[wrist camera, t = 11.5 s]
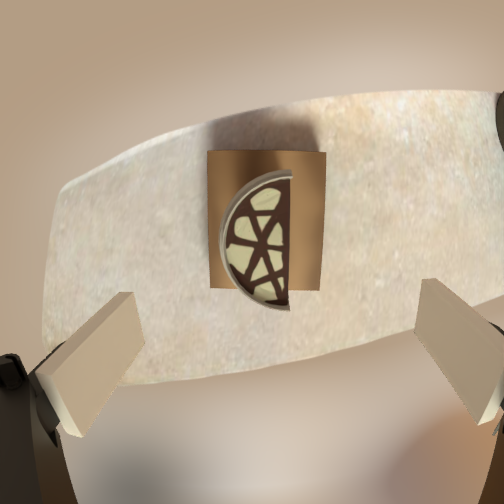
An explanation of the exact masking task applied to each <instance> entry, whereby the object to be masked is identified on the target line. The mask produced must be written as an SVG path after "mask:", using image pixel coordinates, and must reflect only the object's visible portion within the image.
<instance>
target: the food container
mask: <svg viewBox="0 0 504 504" xmlns="http://www.w3.org/2000/svg"><path fill="white" fill-rule="evenodd" d="M291 178H293V176H292V171H291V169H286V170H278V171H273V172H269V173H266V174H264V175H261V176H259V177H257V178H255V179H253V180H252V181H250V182H249V183H247V184H246V185H245V186H244V187H242V188H241V189H240V190H239V191H238V192H237V193H236V194H235V196H234V197H233V198H232V199H231V201H230V202H229V204H228V206H227V207H226V209H225V211H224V214H223V217H222V219H221V223H220V228H219V240H218V243H219V251H220V255H221V259H222V262H223V265H224V268H225V270H226V272H227V274H228V276H229V278H230V279H231V281H232V282H233V284H234V285H235V286H236V287H237V288H238V289H239V291H240V292H241V293H243V294H244V295H245V296H246V297H248V298H249V299H250V300H252V301H254V302H256V303H258V304H259V305H262V306H264V307H267V308H270V309H274V310H279V311H290V306H289V300H288V298H289V296H288V283H289V252H290V179H291Z"/></svg>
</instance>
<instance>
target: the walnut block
mask: <svg viewBox="0 0 504 504" xmlns="http://www.w3.org/2000/svg"><path fill="white" fill-rule="evenodd" d="M286 169H291V171H292V176H293V178H291V179H290V252H289V283H288V290H317V291H319V288H320V276H321V263H322V248H323V232H324V212H325V187H326V152H309V151H282V150H217V151H207V174H208V235H209V267H210V288H227V289H238V288H237V287H236V286H235V285H234V284H233V282H232V281H231V279H230V278H229V276H228V274H227V272H226V270H225V268H224V265H223V262H222V259H221V255H220V251H219V243H218V240H219V228H220V223H221V219H222V217H223V214H224V211H225V209H226V207H227V206H228V204H229V202H230V201H231V199H232V198H233V197H234V196H235V194H236V193H237V192H238V191H239V190H240V189H241V188H242V187H244V186H245V185H246V184H247V183H249V182H250V181H252V180H253V179H255V178H257V177H259V176H261V175H264V174H266V173H269V172H273V171H278V170H286Z"/></svg>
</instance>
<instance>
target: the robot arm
mask: <svg viewBox="0 0 504 504" xmlns="http://www.w3.org/2000/svg"><path fill="white" fill-rule="evenodd" d="M496 122H497V130H498V135H499V139H500V142H501V145H502V148H503V151H504V91H503V93H502V94H501V96H500V98H499V100H498V104H497V111H496ZM414 333H415V335H416V336H417V337H418V339H419V340H420V341H421V343H422V344H423V345H424V347H425V348H426V350H427V351H428V352H429V354H430V355H431V356H432V358H433V359H434V361H435V362H436V363H437V365H438V366H439V368H440V369H441V371H442V372H443V374H444V375H445V376H446V378H447V379H448V381H449V382H450V383H451V385H452V387H453V388H454V390H455V391H456V392H457V394H458V396H459V397H460V399H461V400H462V401H463V403H464V405H465V406H466V408H467V410H468V411H469V413H470V414H471V416H472V417H473V419H474V421H475V422H476V424H477V425H480V424H482V423H485V422H488V421H490V420H493V419H494V417H495V415H496V413H497V411H498V409H499V407H500V406H501V407H502V409H503V410H504V331H503V330H502V329H500V327H498V326H496V325H494V324H492V323H490V322H488V321H487V320H486V319H484V318H483V317H482V316H481V315H480V314H479V313H477V312H476V311H475V310H474V309H473V308H472V307H470V306H469V305H468V304H467V303H466V302H465V301H463V300H462V299H461V298H460V297H458V296H457V295H456V294H455V293H454V292H452V291H451V290H450V289H449V288H447V287H446V286H445V285H444V284H442V283H441V282H440V281H439V280H437V279H436V278H433V279H422V284H421V292H420V299H419V306H418V312H417V318H416V324H415V329H414ZM144 344H145V340H144V336H143V332H142V328H141V324H140V319H139V315H138V311H137V306H136V302H135V297H134V292H119V293H118V294H117V295H116V296H114V297H113V298H112V299H111V300H110V301H109V302H108V303H107V304H106V305H104V306H103V307H102V308H101V309H100V310H99V311H98V312H97V313H96V314H95V315H93V316H92V317H91V318H90V319H89V320H88V321H87V322H86V323H85V324H84V325H83V326H82V327H80V328H79V329H78V330H77V331H76V332H75V333H74V334H73V335H72V336H71V337H70V338H69V339H68V340H67V341H65V342H63V343H61V344H59V345H58V346H57V347H56V348H55V349H54V350H53V351H52V353H50V354H49V355H48V356H47V357H46V359H44V360H43V361H41V362H40V363H39V365H37V366H36V367H35V368H34V369H33V370H32V371H31V372H30V373H29V374H28V375H27V373H26V371H25V368H24V366H23V364H22V361H21V359H20V357H19V356H18V355H17V354H12V353H11V354H5V355H2V356H0V504H78V502H77V499H76V496H75V493H74V490H73V487H72V483H71V480H70V476H69V473H68V469H67V465H66V461H65V457H64V453H63V449H62V444H61V440H60V435H59V433H58V431H57V429H56V426H57V425H58V424H59V422H61V424H62V426H63V427H64V429H65V431H66V432H67V433H68V434H72V435H75V436H78V437H82V438H84V436H85V434H86V433H87V431H88V430H89V428H90V427H91V425H92V423H93V422H94V420H95V419H96V417H97V416H98V414H99V412H100V411H101V409H102V408H103V406H104V405H105V403H106V401H107V400H108V398H109V397H110V395H111V394H112V392H113V391H114V389H115V388H116V386H117V385H118V383H119V382H120V380H121V379H122V377H123V376H124V374H125V373H126V371H127V370H128V368H129V367H130V365H131V364H132V362H133V361H134V359H135V358H136V356H137V355H138V353H139V352H140V350H141V349H142V347H143V346H144ZM498 430H499V431H498ZM497 431H498V436H497V441H496V445H495V450H494V454H493V458H492V461H491V465H490V469H489V472H488V476H487V479H486V482H485V485H484V488H483V491H482V494H481V497H480V500H479V503H478V504H504V414H503V416H502V418H501V420H500V422H499V423H498V425H497V427H496V429H495V430H494V432H493V434H492V435H495V434H496V432H497Z"/></svg>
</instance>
